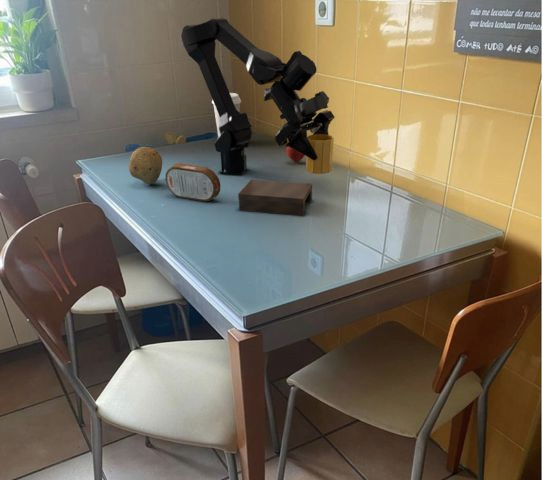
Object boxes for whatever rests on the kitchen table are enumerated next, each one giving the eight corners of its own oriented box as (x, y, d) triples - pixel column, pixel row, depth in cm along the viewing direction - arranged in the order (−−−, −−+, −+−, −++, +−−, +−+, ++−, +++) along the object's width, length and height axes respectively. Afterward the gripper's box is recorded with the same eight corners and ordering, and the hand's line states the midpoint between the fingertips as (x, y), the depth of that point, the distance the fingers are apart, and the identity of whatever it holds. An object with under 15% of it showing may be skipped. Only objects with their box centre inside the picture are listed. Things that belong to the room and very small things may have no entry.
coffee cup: (211, 146, 180) (208, 97, 171) (218, 139, 188) (215, 92, 179) (239, 147, 179) (237, 98, 170) (245, 140, 186) (243, 92, 178)
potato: (134, 191, 145) (128, 153, 139) (129, 181, 152) (122, 144, 146) (168, 186, 148) (163, 149, 142) (161, 177, 154) (156, 141, 149)
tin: (222, 200, 138) (219, 167, 133) (216, 204, 136) (213, 171, 131) (172, 192, 144) (168, 160, 139) (165, 196, 141) (161, 164, 136)
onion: (305, 160, 166) (306, 132, 162) (305, 165, 161) (305, 137, 157) (287, 159, 167) (287, 132, 162) (285, 165, 162) (285, 137, 157)
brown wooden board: (239, 210, 132) (238, 193, 130) (251, 195, 141) (251, 179, 139) (303, 216, 129) (303, 198, 127) (311, 200, 138) (312, 183, 135)
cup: (309, 174, 136) (310, 141, 131) (304, 166, 141) (304, 134, 137) (334, 173, 137) (336, 140, 132) (328, 165, 142) (329, 133, 137)
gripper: (284, 86, 123) (322, 144, 124) (330, 75, 135) (364, 128, 136) (258, 118, 132) (294, 172, 133) (303, 105, 144) (336, 155, 144)
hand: (323, 156), depth 136 cm, fingers closed on cup, 6 cm apart
